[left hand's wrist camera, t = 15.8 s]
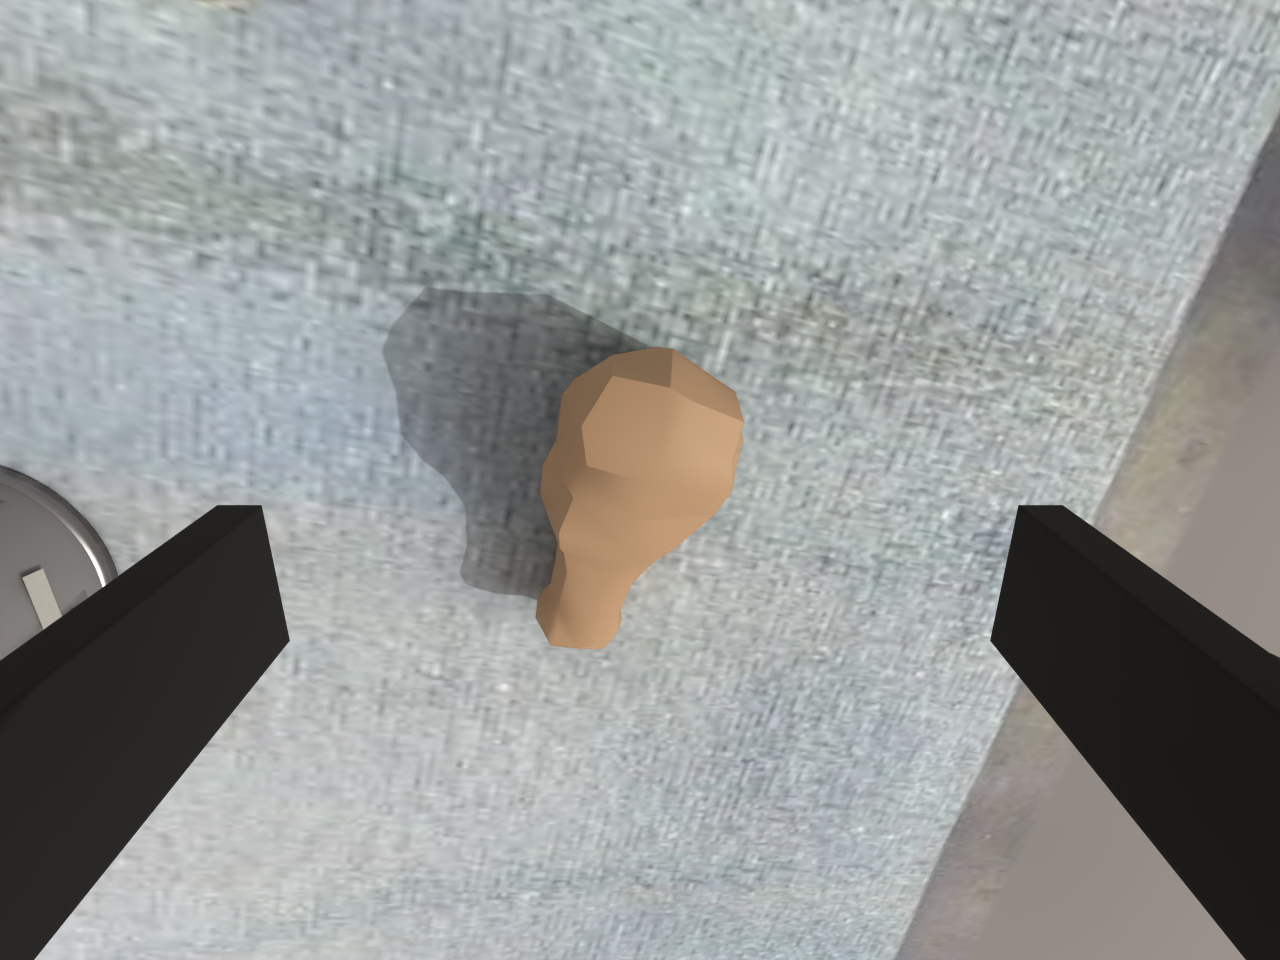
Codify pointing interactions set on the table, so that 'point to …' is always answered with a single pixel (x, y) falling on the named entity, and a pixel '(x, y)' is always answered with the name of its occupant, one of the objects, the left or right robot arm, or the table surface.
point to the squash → (630, 482)
